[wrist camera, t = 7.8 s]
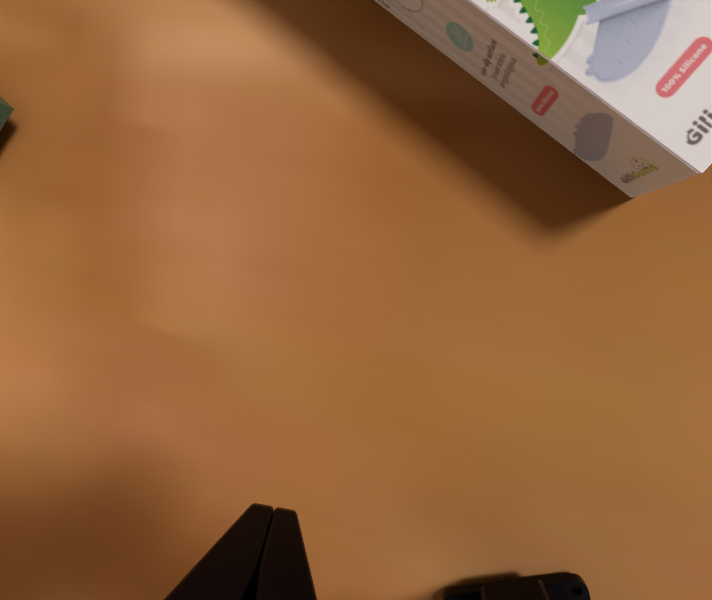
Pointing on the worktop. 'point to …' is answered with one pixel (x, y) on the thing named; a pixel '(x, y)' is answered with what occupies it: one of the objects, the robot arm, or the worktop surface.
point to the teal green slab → (4, 111)
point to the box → (591, 75)
